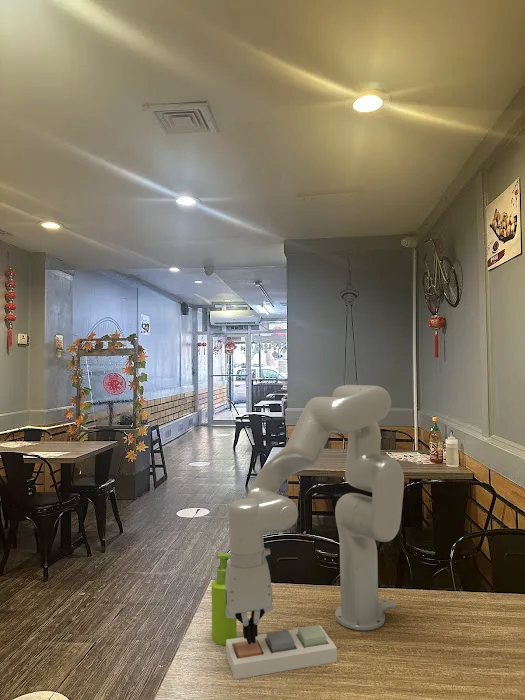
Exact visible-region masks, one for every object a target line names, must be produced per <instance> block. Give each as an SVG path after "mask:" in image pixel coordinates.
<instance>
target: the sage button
mask: <svg viewBox="0 0 525 700" xmlns="http://www.w3.org/2000/svg"><path fill="white" fill-rule="evenodd" d="M319 626H320V625H319V624H317V625H316V624H315V625H310V626H309V625H308V626H303V627H298V628H297V629H298V638H299V639H300V641H301V643H302V644H303V646H304V647H305V648H306V647H313V646H319V645H325V644H326V635H325V634H324V632H323V631H322V630H321V628H320V627H319Z"/></svg>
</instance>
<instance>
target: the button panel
mask: <svg viewBox="0 0 525 700" xmlns="http://www.w3.org/2000/svg"><path fill="white" fill-rule="evenodd" d="M319 627H320V628H321V630H322V631H323V632H324V634H325V635H326V644H325V645H319V646H313V647H306V648H305V647H304V646H303V644H302V643H301V641H300V639H299V638H298V628H295V629H287V630H288V631H289V633H290V635H291V636H292V638H293V640H294V650H288V651H282V652H276V653H272V652H271V650H270V647H269V645H268V643H267V633H262V634H258V637H256V641H257V643H258V645H259V647H260V650H261V654H262V655H257V656H251V657H245V658H238V659H237V657H236V654H235V649H234V643H238V642H244V641H247V639H244V636H242V637H237V638H234V639H227V640H226V645H225V654H226V657H227V661H228V663H229V667H230V670H231V673H232V676H233V679H234V680H241V679H246V678H251V677H257V676H263V675H268V674H269V675H270V674H274V673H280V672H286V671H292V670H298V669H303V668H310V667H316V666H320V665H321V666H322V665H326V664H327V665H328V664H333V663H337V662H338V648H337V646H336V645H335V643H334V642H333V640H332V638H330V636H329V635H328V634H327V632H326V631H325V629H324V628H323V627H322V626H321V625H319Z"/></svg>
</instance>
